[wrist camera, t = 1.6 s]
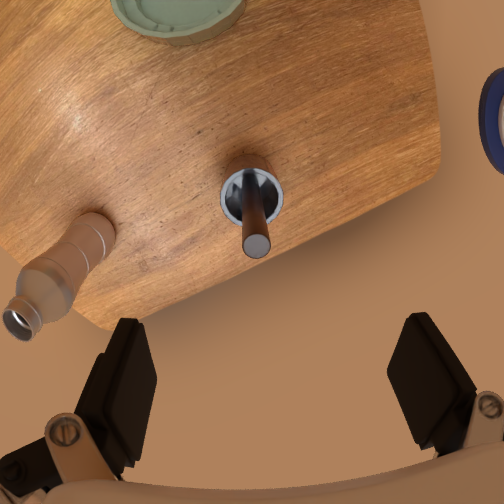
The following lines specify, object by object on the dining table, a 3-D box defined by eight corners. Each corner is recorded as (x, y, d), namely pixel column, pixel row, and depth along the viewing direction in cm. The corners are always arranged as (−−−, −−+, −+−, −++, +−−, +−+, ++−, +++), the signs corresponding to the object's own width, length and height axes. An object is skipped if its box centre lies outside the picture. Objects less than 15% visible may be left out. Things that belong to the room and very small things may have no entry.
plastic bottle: (68, 225, 38) (-19, 312, 20) (99, 197, 36) (6, 280, 18) (97, 261, 40) (27, 362, 22) (130, 236, 39) (60, 340, 21)
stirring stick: (258, 174, 34) (271, 233, 20) (258, 190, 35) (270, 259, 20) (241, 174, 34) (242, 233, 19) (242, 190, 35) (242, 259, 20)
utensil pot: (275, 153, 35) (284, 168, 28) (274, 202, 37) (282, 227, 30) (223, 154, 35) (219, 168, 27) (225, 202, 37) (221, 228, 30)
